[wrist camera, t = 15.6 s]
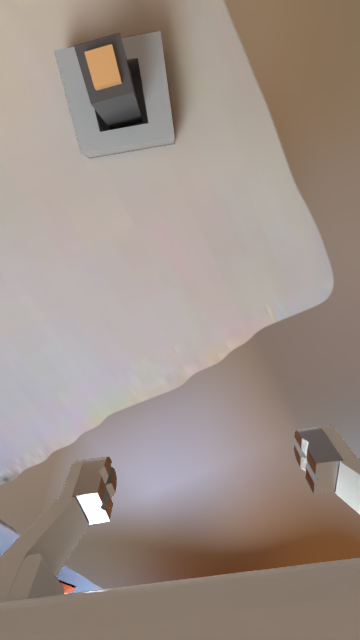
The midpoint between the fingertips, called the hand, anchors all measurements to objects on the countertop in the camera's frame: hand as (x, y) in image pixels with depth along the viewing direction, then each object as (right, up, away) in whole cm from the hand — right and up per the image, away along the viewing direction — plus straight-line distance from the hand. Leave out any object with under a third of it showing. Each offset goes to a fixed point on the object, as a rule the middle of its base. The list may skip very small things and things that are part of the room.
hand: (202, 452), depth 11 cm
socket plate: (-8, +31, +20) cm, 38 cm away
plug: (-8, +31, +19) cm, 38 cm away
